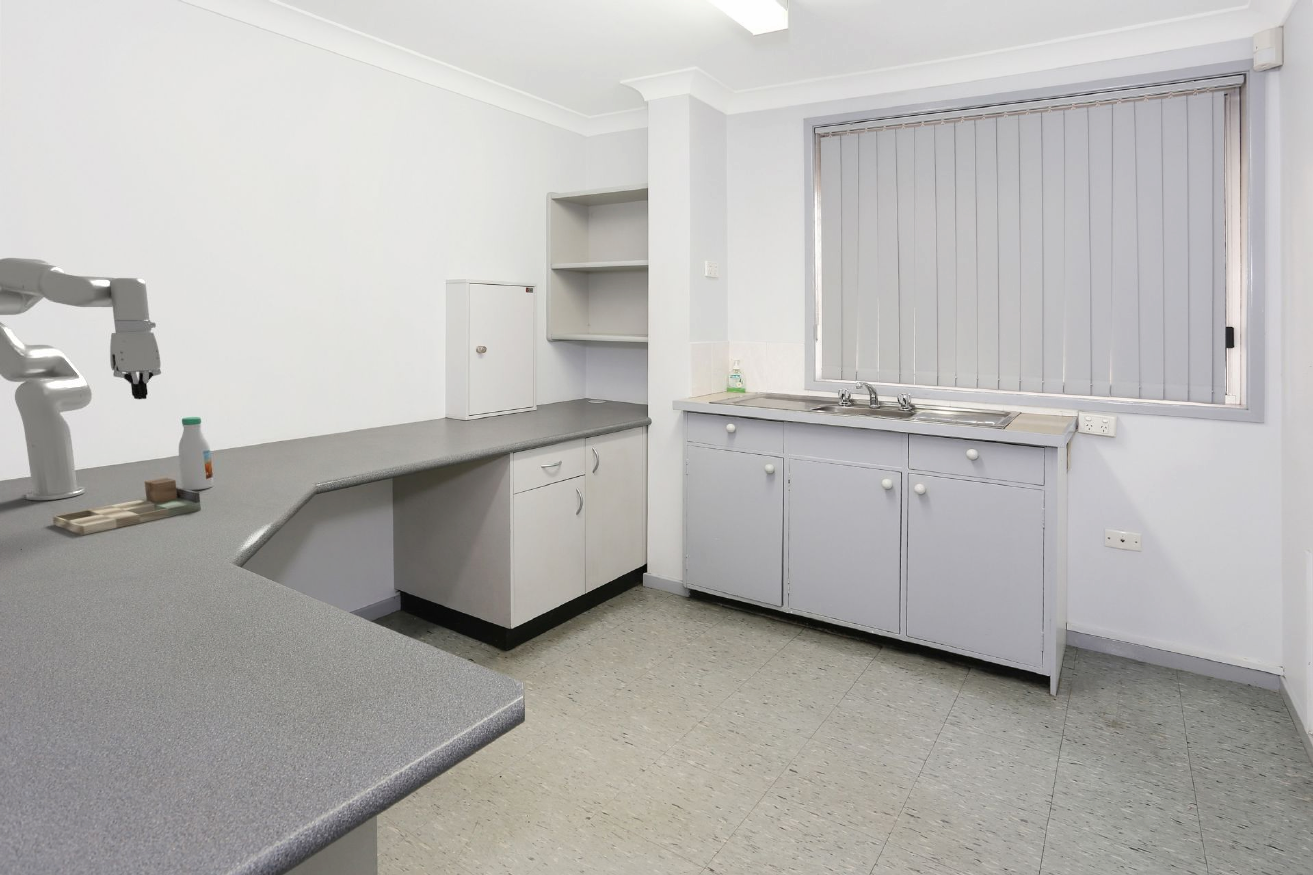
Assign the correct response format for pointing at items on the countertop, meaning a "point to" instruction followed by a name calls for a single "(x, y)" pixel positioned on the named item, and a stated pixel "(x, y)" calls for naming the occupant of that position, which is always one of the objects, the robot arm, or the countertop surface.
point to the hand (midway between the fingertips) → (140, 398)
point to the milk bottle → (194, 456)
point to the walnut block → (160, 490)
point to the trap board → (127, 513)
